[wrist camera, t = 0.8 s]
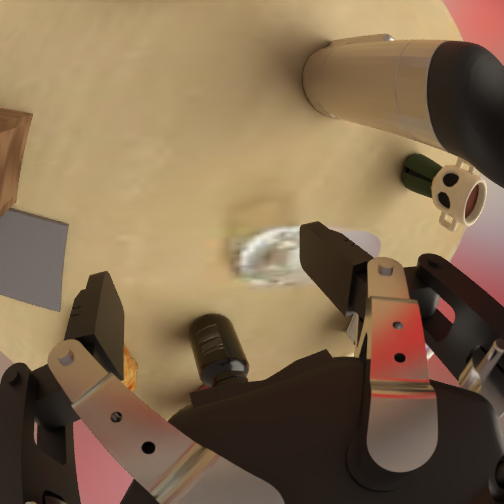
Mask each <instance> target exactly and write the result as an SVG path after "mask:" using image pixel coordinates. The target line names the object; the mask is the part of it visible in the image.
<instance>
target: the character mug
mask: <svg viewBox="0 0 504 504" xmlns="http://www.w3.org/2000/svg"><path fill="white" fill-rule="evenodd" d="M463 163H466V164H468V165H470V167H469V171H466V170H464V169H462V164H463ZM405 167H407V168H409V173H406V172H403V183H404V185H405V187H406V188H408V189H409V190H411V191H413V192H416V193H418V194H421V195H424V196H427V197H430V198H432V199H433V202H434V204H435V206H436V207H437V208H438V209H440V210H441V211H442V213H441V216H440V219H439V223H440V224H441V225H442V226H444V227H445V228H447V229H448V230H450V231H452V232H454V231H455V230H456V228H457V225H458V222H461V223H462V224H464V225H465V226H467V227H468V226H471V225H472V224H473V223H474V222H475V221H476V220H477V218H478V217H479V216H480V214H481V212H482V209H483V207H484V204H485V200H486V194H487V187H486V182H485V181H484V180H483V179H482V178H480V177H478V176H476V175H474V172H475V169H476V168H475V167H474V166H473V165H471V164H470V163H469V162H467V161H466V160H464V159H462V158H460V157H458V159H457V163H456V166H455V165H447V166H444V167H442V166H440V165H439V164H437V163H436V162H434V161H433V160H431V159H429V158H428V157H426V156H424V155H422V154H413V155H412V156H411V157H409V158H408V160H407V162H406V163H405ZM447 214H448V215H449V216H451V217H453V218H454V219H453V221H452V224H451V223H449V222H448V221H446V220H445V219H446V216H447Z"/></svg>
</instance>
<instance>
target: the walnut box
mask: <svg viewBox="0 0 504 504" xmlns="http://www.w3.org/2000/svg"><path fill="white" fill-rule="evenodd" d="M32 116H33V114H30V113H25V112H20V111H15V110H9V109H4V108H0V217H1V216H2V215H3V214H4V213H5V212H6V211H7V210H8V209H9V208H10V207H11V206H12V205H13V204H14V203H15V202H16V198H17V190H18V182H19V176H20V169H21V164H22V158H23V153H24V148H25V144H26V139H27V135H28V131H29V127H30V123H31V120H32Z"/></svg>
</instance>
